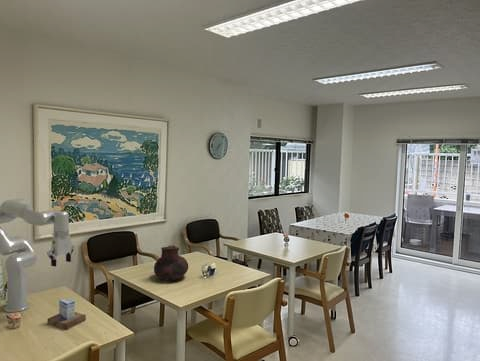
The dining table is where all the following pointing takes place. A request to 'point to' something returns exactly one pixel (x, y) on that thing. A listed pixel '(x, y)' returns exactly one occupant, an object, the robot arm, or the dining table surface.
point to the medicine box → (66, 308)
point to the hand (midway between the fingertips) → (61, 263)
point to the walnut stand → (66, 321)
